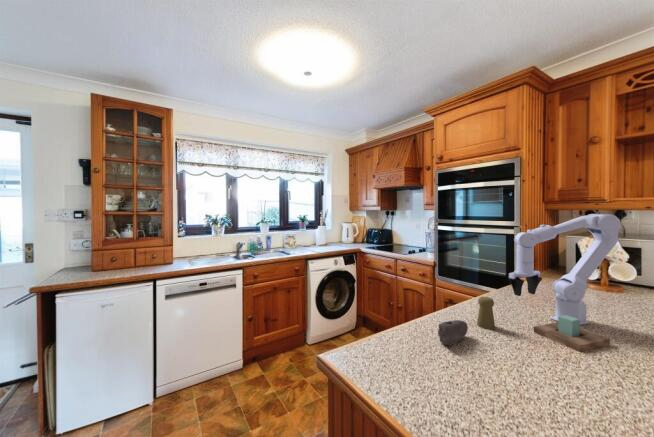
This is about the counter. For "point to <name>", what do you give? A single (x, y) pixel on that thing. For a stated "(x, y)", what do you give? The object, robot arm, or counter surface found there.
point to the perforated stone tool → (452, 331)
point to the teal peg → (569, 326)
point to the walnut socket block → (577, 343)
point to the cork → (486, 313)
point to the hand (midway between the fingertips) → (524, 294)
